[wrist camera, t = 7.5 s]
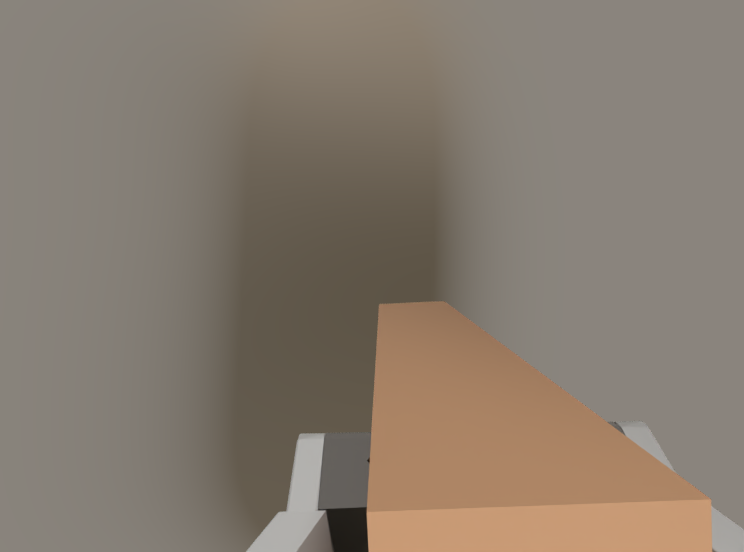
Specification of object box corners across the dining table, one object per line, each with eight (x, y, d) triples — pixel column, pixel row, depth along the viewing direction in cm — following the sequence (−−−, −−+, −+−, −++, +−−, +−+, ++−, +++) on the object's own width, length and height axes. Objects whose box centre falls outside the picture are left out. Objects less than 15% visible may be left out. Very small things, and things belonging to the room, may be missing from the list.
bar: (446, 365, 27) (444, 301, 27) (718, 828, 5) (711, 498, 5) (382, 368, 27) (379, 304, 27) (382, 836, 5) (366, 512, 5)
